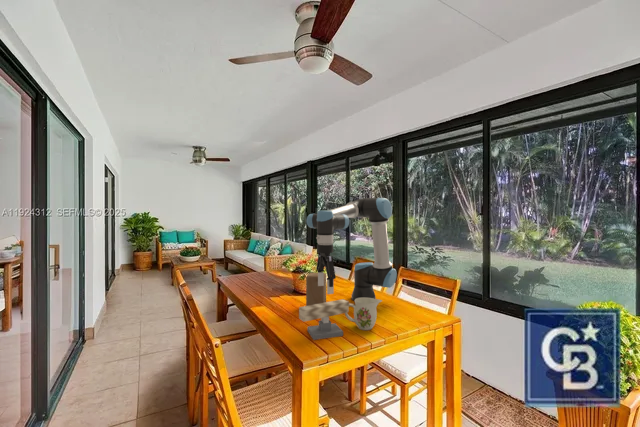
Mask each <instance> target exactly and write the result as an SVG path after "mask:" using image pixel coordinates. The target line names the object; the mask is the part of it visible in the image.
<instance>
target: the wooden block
mask: <svg viewBox="0 0 640 427" xmlns="http://www.w3.org/2000/svg"><path fill="white" fill-rule="evenodd" d="M305 281H306V282H305V287H306V288H305V289H306V292H305V302H306V303H305V306H309V305H314V304H320V303H325V302H327V273H325V272H324V286H318V272H310V273H308V274H307V275H306V278H305Z"/></svg>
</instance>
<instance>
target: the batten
mask: <svg viewBox="0 0 640 427" xmlns="http://www.w3.org/2000/svg"><path fill="white" fill-rule="evenodd" d="M349 304H350V302H349V300H346V299H344V298H343V299H338V300H331V301H326V302H325V303H320V304H314V305H309V306H306V305H304V306H299V307H298V319H299V320H300V321H302V322H303V323H304V322H310V321H313V320H317V319H318V320H319V319H321V318H324V317H328V316H329V317H333V316H336V315H342V314H345V313H349V310H350V309H349V307H350V306H349Z"/></svg>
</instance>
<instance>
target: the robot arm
mask: <svg viewBox="0 0 640 427" xmlns="http://www.w3.org/2000/svg"><path fill="white" fill-rule="evenodd" d="M392 213H393V206H392V202H390V201H389V199H388V198H385V197H367V198H366V197H365V198H359V199H356V200H352V201H350V202H347V203H346V204H345V205H342V206H339V207H335V208H332V209H328V210H318V211H317V212H316V213H310V214H308V216H306V225H307V227H308V228H310V229H316V237H315V239H316V243H317V245H316V252H317V253H318V255H317V261H316V262H317V263H316V267H315V268H316V269H315V270H317V273H318V286H324V273H325V271H326V295H333V294H334V293H335V290H334V288H335V286H334V280H335V279H336V271H335V265H334V257H333V256H332V255H331V254H332V253H333V252H334V231H337V230H344V229H347V228H348V227H349V224H350V219H349V218H351V219H354V218H368V222H369V224H371V231H372V232H371V233H372V242H373V255H374V256H373V257H374V263H373V262H368V261H367V262H359V263H356V264H355V265H354V272H353V274H354V277H353V278H354V288H353V290H352V293H351V300H352V301H354V302H355V299H356V298H362V297H366V298H374V299H377V298H376V294H375V289H374V286H377V287H382V288H389V289H390V288H391V287H392V288H393V286H394V285H395V283H396V281H397V275H398V274H397V270H396V269H395V268H393V263H391V261H390V254H389V253H390V252H389V242H388V240H389V238H388V229H387V228H388V225H387V223H388V222H389V221H390V218H391V217H392V216H393V214H392Z"/></svg>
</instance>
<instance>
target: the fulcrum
mask: <svg viewBox="0 0 640 427" xmlns="http://www.w3.org/2000/svg"><path fill="white" fill-rule="evenodd" d="M307 332H308V334H309V335H310V337H311V339H312V340H313V341H315V340H316V341H317V340H322V339H323V340H324V339H329V338H330V339H331V338H336V337H337V338H338V337H343V336H344V331H343V330H342V329H341V327H339V325H337V323H333V322H332V321H331V320H330V316H328V317H324V318H320V320H318V325H309V326H307Z"/></svg>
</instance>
